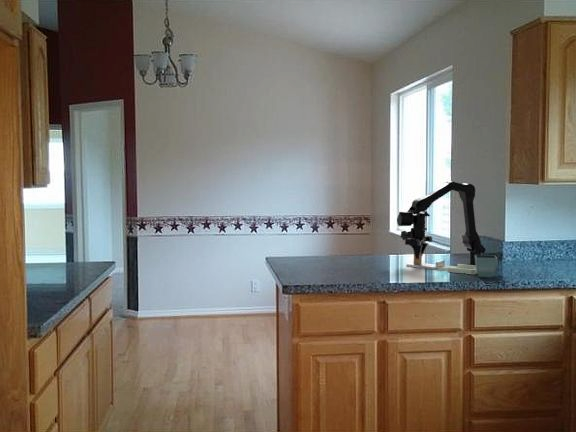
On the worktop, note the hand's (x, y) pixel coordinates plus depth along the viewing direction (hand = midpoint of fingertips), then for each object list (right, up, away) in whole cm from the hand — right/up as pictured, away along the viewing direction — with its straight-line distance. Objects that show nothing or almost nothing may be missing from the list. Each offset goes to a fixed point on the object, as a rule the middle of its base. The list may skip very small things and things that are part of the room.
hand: (418, 258), depth 301 cm
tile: (+12, -5, -8) cm, 16 cm away
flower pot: (+23, -6, -27) cm, 37 cm away
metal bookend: (+3, -4, -2) cm, 5 cm away
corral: (+18, -5, -13) cm, 23 cm away
